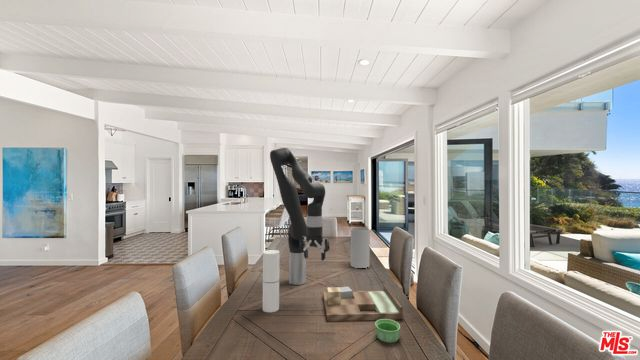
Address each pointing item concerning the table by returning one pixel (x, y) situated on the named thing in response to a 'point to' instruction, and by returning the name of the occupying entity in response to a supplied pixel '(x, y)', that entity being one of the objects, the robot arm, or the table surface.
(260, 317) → the table surface
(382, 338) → the ramekin
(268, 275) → the cylindrical container
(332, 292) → the maple cube
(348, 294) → the trapped grey cube
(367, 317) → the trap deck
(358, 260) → the cylinder vase
